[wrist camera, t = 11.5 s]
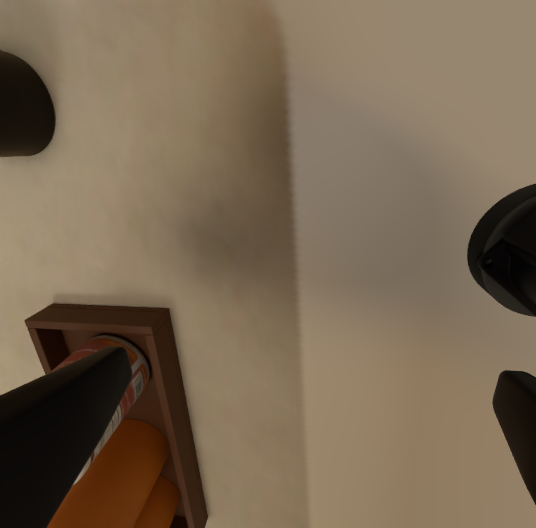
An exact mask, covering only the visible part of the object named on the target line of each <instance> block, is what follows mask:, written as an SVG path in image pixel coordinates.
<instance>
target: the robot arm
mask: <svg viewBox="0 0 536 528" xmlns="http://www.w3.org/2000/svg"><path fill="white" fill-rule="evenodd" d="M488 260H491V262H490V264H488V265H485V262H486V261H488ZM477 265H478V266H479V268H481V269H482V270H483V271H484V272H485V273H486V274H488V275H489V276H490V277H491V278H492V279H493V280H494V281H496V282H497V283H498V284H499V285H500V286H501V287H503V288H504V289H505V290H506V291H507V292H508V293H510V294H511V295H512V296H513V297H514V298H515V299H517V300H518V301H519V302H520V303H521V304H522V305H524V306H525V307H526V308H527V309H528V310H529V311H531V312H532V313H533V314H534V315H535V316H536V209H535V210H533V211H532V212H531V213H530V214H529V215H527V216H526V217H525V218H524V219H522V220H521V221H520V222H519V223H518V224H516V225H515V226H514V227H513V228H512V229H510V230H509V231H508V232H507V233H506V234H505V235H504V237H503V238H502V239H501V240H500V241H498V242H497V243H496V244H495V245H493V246H492V247H491V248H490V249H489V250H487V251H486V252H485V253H484V254H482V255H481V256H480V257H479V258H478V260H477ZM131 379H132V368H131V364H130V360H129V356H128V353H127V350H126V349H125V348H124V347H122V346H108V347H105V348H103V349H101V350H99V351H97V352H94V353H92V354H90V355H88V356H86V357H83V358H81V359H79V360H77V361H75V362H72V363H70V364H68V365H66V366H64V367H62V368H59V369H57V370H55V371H53V372H51V373H48V374H46V375H44V376H42V377H40V378H38V379H35V380H33V381H31V382H29V383H27V384H24V385H22V386H20V387H18V388H16V389H13V390H11V391H9V392H7V393H5V394H3V395H0V528H47V526H48V525H49V523H50V521H51V520H52V518H53V517H54V515H55V513H56V512H57V510H58V508H59V507H60V505H61V504H62V502H63V500H64V499H65V497H66V495H67V494H68V492H69V491H70V489H71V487H72V486H73V484H74V482H75V481H76V479H77V478H78V476H79V474H80V473H81V471H82V469H83V468H84V466H85V465H86V463H87V461H88V460H89V458H90V457H91V455H92V453H93V452H94V450H95V448H96V447H97V445H98V443H99V442H100V440H101V438H102V437H103V435H104V433H105V431H106V429H107V427H108V425H109V423H110V421H111V419H112V417H113V415H114V413H115V411H116V409H117V407H118V405H119V403H120V401H121V399H122V397H123V395H124V393H125V391H126V390H127V388H128V386H129V384H130V381H131ZM493 408H494V412H495V414H496V417H497V419H498V421H499V424H500V426H501V428H502V431H503V433H504V436H505V438H506V440H507V442H508V445H509V447H510V450H511V452H512V455H513V457H514V459H515V462H516V464H517V466H518V469H519V471H520V474H521V476H522V478H523V480H524V482H525V485H526V487H527V489H528V491H529V493H530V495H531V497H532V499H533V501H534V503H535V505H536V377H534V376H532V375H531V374H529V373H526V372H523V371H507V370H506V371H503V372H501V373H500V375H499V378H498V382H497V386H496V389H495V393H494V397H493Z"/></svg>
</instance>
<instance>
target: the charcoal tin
mask: <svg viewBox="0 0 536 528" xmlns="http://www.w3.org/2000/svg"><path fill="white" fill-rule="evenodd" d="M53 129H54V111H53V106H52V102H51V99H50V96H49V94H48V91H47V89H46V87H45V85H44V84H43V82H42V80H41V79H40V77H39V76H38V75H37V74H36V72H35V71H34V70H33V69H32V68H31V67H30V66H29V65H28V64H27V63H25V62H24V61H23V60H21V59H20V58H18V57H16V56H15V55H13V54H10V53H7V52H4V51H1V50H0V157H11V156H31V155H35V154H37V153H39V152H40V151H42V150H43V149H44V148H45V147H46V146H47V144H48V143H49V141H50V139H51V137H52V134H53Z"/></svg>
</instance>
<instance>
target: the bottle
mask: <svg viewBox="0 0 536 528" xmlns="http://www.w3.org/2000/svg"><path fill="white" fill-rule="evenodd" d="M168 455H169V445H168V442H167V440H166V438H165V437H164V436H163V434H162V433H161V432H160V431H158V430H157V429H156V428H155V427H153V426H151V425H150V424H148V423H145V422H143V421H139V420H134V419H126V420H122V421H121V422H120V424H119V425H118V427H117V428H116V430H115V431H114V432H113V434H112V435H111V437H110V438H109V439H108V441H107V442H106V444H105V445H104V447H103V448H102V449H101V451H100V452H99V454H98V455H97V456H96V458H95V459H94V461H93V462H92V464H91V465H90V467H89V468H88V469H87V471H86V472H85V473H84V475H83V476H82V477H81V479H80V480H79V481H78V482H77V483H76V484H74V485H73V486H72V487H71V489H70V491H69V492H68V494H67V495H66V497H65V499H64V500H63V502H62V504H61V505H60V507H59V508H58V510H57V512H56V513H55V515H54V517H53V518H52V520H51V521H50V523H49V525H48V526H47V528H133V527H134V525H135V523H136V521H137V519H138V517H139V515H140V513H141V511H142V509H143V507H144V505H145V502H146V500H147V498H148V496H149V494H150V492H151V490H152V488H153V486H154V484H155V482H156V480H157V478H158V476H159V474H160V472H161V470H162V468H163V466H164V464H165V461H166V459H167V457H168Z"/></svg>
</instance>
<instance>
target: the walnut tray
mask: <svg viewBox="0 0 536 528" xmlns="http://www.w3.org/2000/svg"><path fill="white" fill-rule="evenodd" d="M25 323H26V326H27V328H28V331H29V333H30V336H31V339H32V341H33V344H34V346H35V349H36V351H37V354H38V356H39V359H40V362H41V364H42V367H43V369H44V372H45V374H48V373H50V372H51V371H52V370H53V369H55V368H56V367H57V366H58V365H59V364H60V363H62V362H63V361H64V360H65V359H66V358H67V357H69V356H70V355H71V354H72V353H73V352H74V351H76V350H77V349H78V348H79V347H80V346H82V345H83V344H84V343H85V342H87V341H88V340H90V339H91V338H94V337H97V336H101V335H109V336H115V337H118V338H121V339H123V340H125V341H127V342H129V343H130V344H132V345H133V346H135V347H136V348H137V349H138V350H139V351H140V352H141V353H142V354H143V356H144V357H145V359H146V361H147V363H148V365H149V371H150V376H149V381H148V383H147V385H146V387H145V389H144V390H143V391H142V393H141V394H140V396H139V397H138V399H137V400H136V401H135V403H134V404H133V406H132V407H131V408H130V410H129V411H128V413H127V414H126V415H125V417H124V418H123V420H126V419H134V420H139V421H143V422H145V423H148V424H150V425H151V426H153V427H155V428H156V429H157V430H158V431H160V432H161V433H162V434H163V436H164V437H165V438H166V440H167V442H168V445H169V455H168V457H167V459H166V461H165V464H164V466H163V468H162V470H161V472H160V474H159V475H161V476H163V477H165V478H166V479H168V480H169V481H170V482H172V483H173V484H174V485H175V487H176V488H177V489H178V491H179V494H180V502H179V505H178V507H177V510H176V512H175V515H174V518H173V520H172V523H171V525H170V528H205V525H206V522H207V519H208V517H207V512H206V507H205V501H204V496H203V491H202V485H201V480H200V475H199V469H198V464H197V459H196V453H195V448H194V442H193V437H192V432H191V426H190V421H189V416H188V410H187V405H186V400H185V394H184V389H183V384H182V378H181V373H180V368H179V362H178V357H177V352H176V346H175V341H174V335H173V330H172V325H171V319H170V314H169V309H165V308H141V307H117V306H93V305H69V304H51V305H49V306H48V307H47V308H45V309H43V310H41V311H39V312H38V313H36V314H34V315H33V316H31V317H29V318H27V319H26V320H25Z"/></svg>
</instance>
